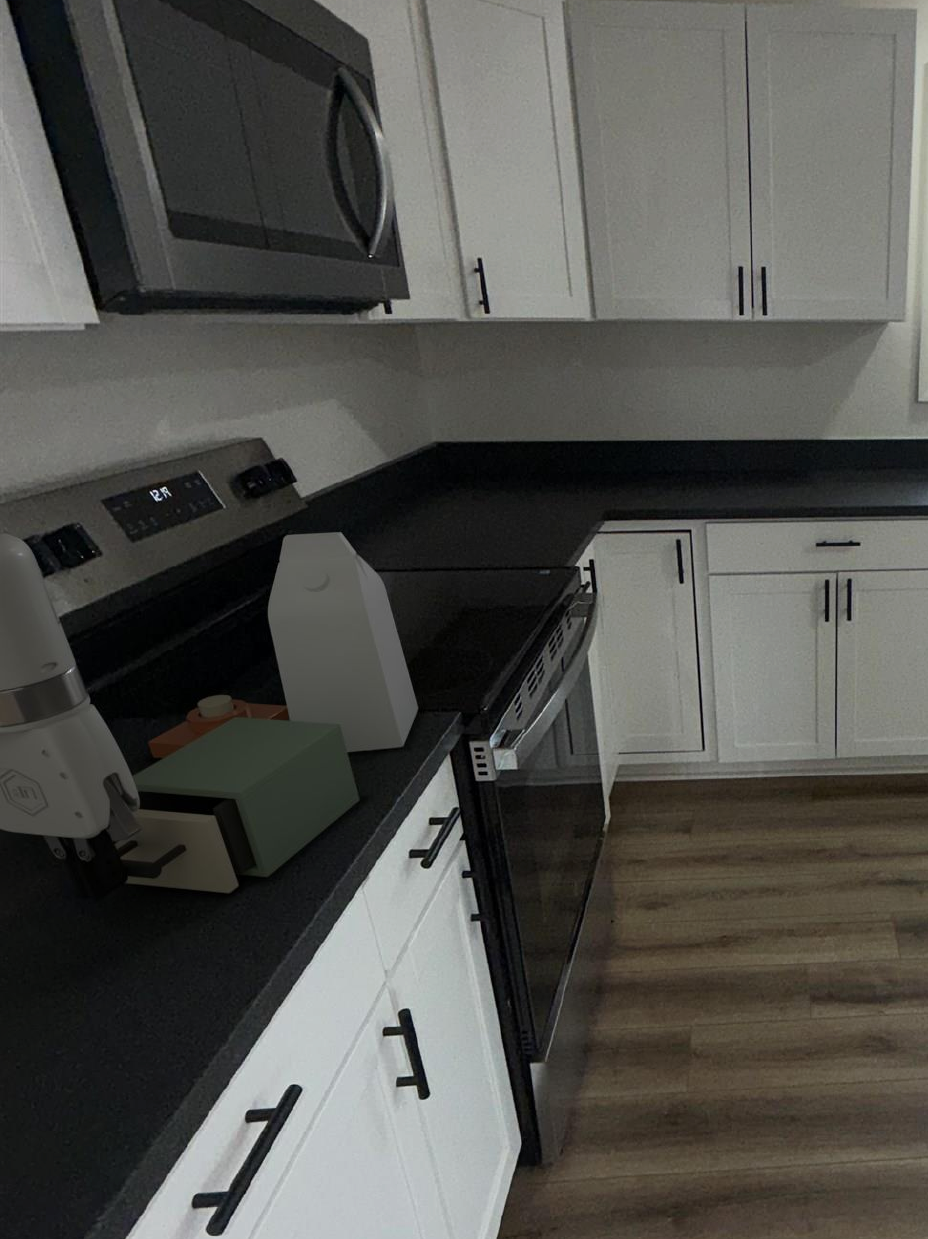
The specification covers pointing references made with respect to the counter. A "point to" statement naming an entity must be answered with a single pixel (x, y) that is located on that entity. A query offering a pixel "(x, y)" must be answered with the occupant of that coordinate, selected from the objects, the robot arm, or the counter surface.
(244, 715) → the control block
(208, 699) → the button
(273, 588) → the milk
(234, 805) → the beige drawer
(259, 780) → the green drawer cabinet
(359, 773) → the counter surface
